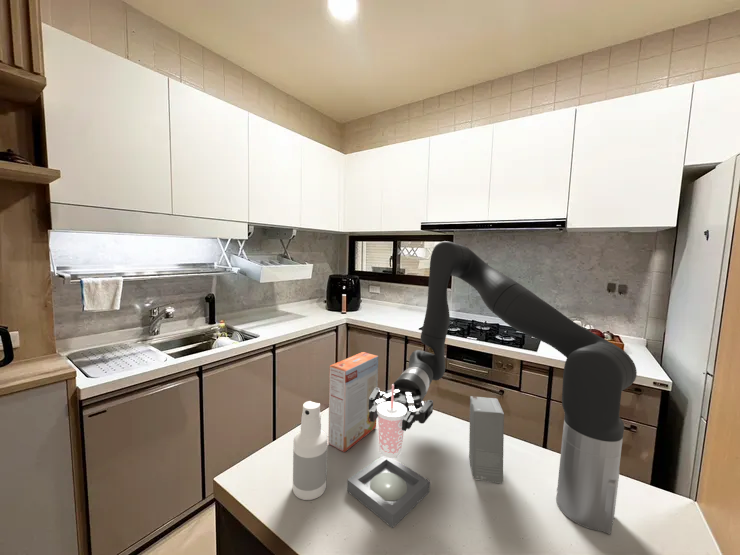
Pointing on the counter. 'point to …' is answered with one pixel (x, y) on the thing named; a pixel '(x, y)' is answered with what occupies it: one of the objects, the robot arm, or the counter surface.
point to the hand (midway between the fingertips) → (387, 421)
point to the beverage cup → (390, 427)
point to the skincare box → (486, 439)
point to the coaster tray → (388, 489)
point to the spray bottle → (310, 455)
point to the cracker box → (351, 399)
